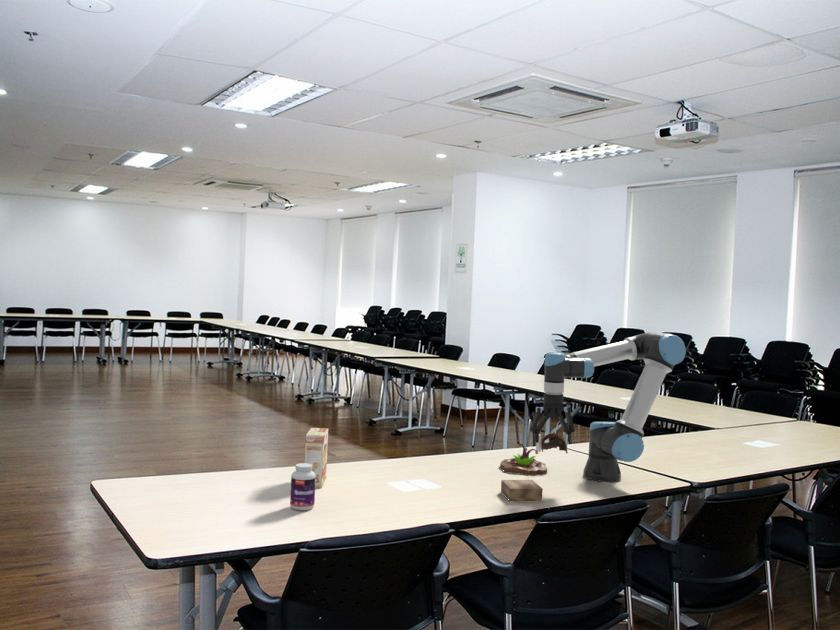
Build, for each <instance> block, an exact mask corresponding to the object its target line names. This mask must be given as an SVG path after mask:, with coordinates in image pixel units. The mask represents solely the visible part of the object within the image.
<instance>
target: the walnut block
mask: <svg viewBox="0 0 840 630" xmlns="http://www.w3.org/2000/svg"><path fill="white" fill-rule="evenodd" d="M500 484H501V485H500V487H501V488H500V492H502V493H503V494H504V495H505V496H506V497H507V498H508V499H509V500H508V499H507V498H506V497H505V496H504V495H503V494H502V493H501V494H502V495H503V496H504V497H505V498H506V499H507V500H508V502H510V501H542V502H543V492H544V491H543V490H544V488H542V486H540V485H539V484H537V482H535V481H534V480H533V479H501V483H500Z"/></svg>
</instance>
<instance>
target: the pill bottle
mask: <svg viewBox="0 0 840 630" xmlns="http://www.w3.org/2000/svg"><path fill="white" fill-rule="evenodd" d="M311 470H312V464H308V463H305V462H303V463H301V462H300V463H296V464H295V470H294V471H293V472H292V473H291V474H290V475H291V476H290V477H291V478H290V480H291V481H290V499H289V500H290V501H289V502H290V503H289V506H290V508H291V509H293V510H295V511H299V512H300V511H303V512H304V511H309V510H312V509H314V507H315V499H316V488H315V480H316V475H315V473H314V472H313V471H311Z"/></svg>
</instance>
